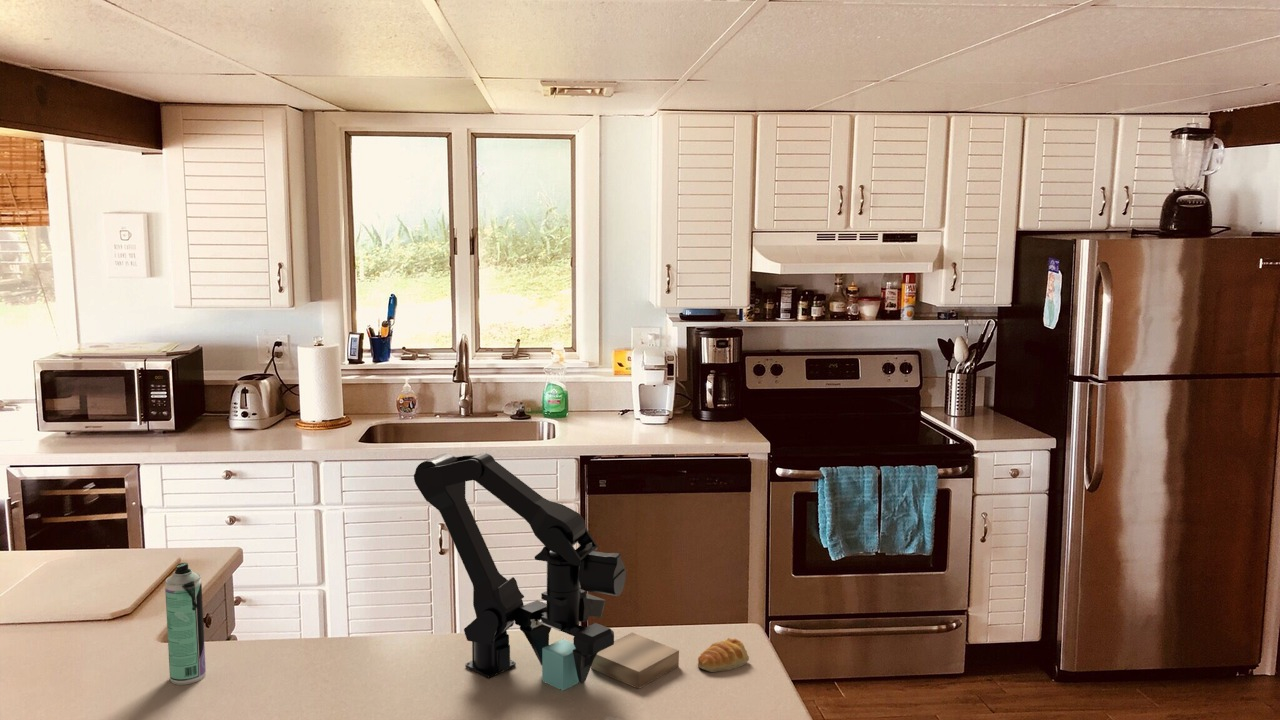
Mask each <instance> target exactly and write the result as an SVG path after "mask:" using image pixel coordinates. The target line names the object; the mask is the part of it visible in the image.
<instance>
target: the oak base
mask: <svg viewBox="0 0 1280 720" xmlns="http://www.w3.org/2000/svg"><path fill="white" fill-rule="evenodd" d="M679 658H680V649H676V648H674V647H671V646H669V645H666V644H663V643H661V642H658V641H655V640H653V639H650V638H648V637H645V636H642V635H640V634H637V633H635V632H630V633H627V634H626V635H624V636H622V637H620V638H618V639H616V640H614V645H612V646H610V647H608V648H606V649H603V650H601V651H599V652H598V653H597V654H596V656H595V658H594V660H593V663H592V665H591V668H590V669H592V670H594V671H597V672H598V673H601V674H604V675H606V676H608V677H611V678H612V679H615V680H617V681H619V682H622V683H625V684H627V685H628V686H629V685H630V686H632V687H634V688H636V689H639V690H640V688H642V687H645V686H646V685H648V684H649V683H651V682H653V681H656V680H657V679H658V678H660V677H662V676H664V675H666V674H668V673H669V672H671V671H673V670H675V669H677V668H678V667H679V665H680V663H679V662H680V659H679Z"/></svg>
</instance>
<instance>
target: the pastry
mask: <svg viewBox="0 0 1280 720" xmlns="http://www.w3.org/2000/svg"><path fill="white" fill-rule="evenodd" d="M749 659H750V656H749V654H748V652H747V649H746V647H745V645H744V643H743V642H742V641H741V640H739V639H737V638H730V637H728V638H727V639H725V640H721V641H718V642H713V643H712V644H711V645H710V646H709V647H707V648H706V649H705V650H704V651H702V653H700V655H699V656H698V659H697V667H698V668H700V669H702V670H705V671H707V672H711V673H715V672H724V671H726V672H727V671H730V670H733V669H736V668H740V667H742V666H744V665H747V663H748V661H749Z"/></svg>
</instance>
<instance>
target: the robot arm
mask: <svg viewBox="0 0 1280 720" xmlns="http://www.w3.org/2000/svg"><path fill="white" fill-rule="evenodd" d="M413 480H414V483H415V485H416V488H417V489H418V490H419V492H420V493H421V495H422V496H423V498H424V500H425V501H426V502H428V503H429V505H431V506H433V507H434V508H435V509H436V510H437V511H438V512H439V514H440V516H441V518H442V520H443V522H444V524H445V527H446V529H447V531H448V533H449V535H450V538H451V539H452V542H453V545H454V546H455V549H456V551H457V553H458V555H459V558H460V559H461V562H462V564H463V567H464V568H465V571H466V573H467V576H468V577H469V579H470V581H471V582H470V583H471V584H472V587H473V588H472V594H473V595H472V597H473V600H472V606H473V609H474V612H475V617H476V618H475V619H473V621H471V622H470V623H469V624H468V625H467V626H466V627H464V628H463V632H464V635H465V638H466V641H468V642H471V644H472V645H471V646H472V648H471V649H472V650H471V653H472V654H471V655H472V658H471V659H472V660H470V661H468V662H466V663H465V668H467V669H469V670H471V671H474V672H476V673H478V674H479V675H482V676H483V677H485V678H491V677H493V676H497V675H498V674H500V673H504V672H505V671H507V670H509V669H511V668H514V667H516V664H517V663H516V661H514V660H511V645H510V635H509V634H508V630H509V629H510V628H512V627H513V626H514V625H517V626H519V631H521V632H522V634H523V635H524V636H525V638H526V639H527V640H528V641H527V642H528V643H529V645H530V646H531V648H532V650H533V652H534V653H535V656H536V658H537V660H538V662H539V664H540V666H541V667H542V648H544V647H546V646H548V645H550V632H551V630H552V629H553V630H556V631H558V632H563V633H564V634H566V635H570V636H572V637H573V643H574V646H575V647H576V649H574V650H573V656H574V661H575V666H576V671H577V676H578V680H579V683H578V684H583V683H585V682H586V681H587V678H588V675H589V672H590V670H591V669H592V668H591V665H592V663H593V660H594V658H595V656H596V654H597V653H598V652H599V651H601V650H603V649H606V648H608V647H610V646H612V645H614V641H615V633H614V631H613V630H612V629H611V628H610V627H607V626H605V625H602V624H599V623H597V622H594V623H592V624H590V625H587V626H586V627H585V626H583V625H581V624H580V623H581V622H583V623H585V622H587V621H589V617H593V618H594V617H596V618H597V619H602V617H603V611H604V607H605V604H606V599H603V598H601V597H598V596H596V595H593V594H590V593H597V594H602V595H603V594H604V595H609V596H615V597H620V595H621V594H622V593H623V591H624V588H625V584H626V576H627V569H626V568H625V567H626V566H625V562H624V561H623V560H622V554H621V553H618V552H609V553H608V552H603V551H597V550H598V548H599V546H598V545H597V543H596V542H595V540H594V538H593V537H592V535H591V534H590V532H589V531H588V529H587V528H586V524H585V522H586V521H585V519H584V517H583V516H582V515H581V514H580V513H579V512H578V511H576V510H573V509H572V508H570V507H568V506H566V505H564V504H562V503H559V502H555V501H552V500H549V499H547V498H545V497H543V496H542V495H540V493H538V492H537V491H536V490H534V489H533V488H531V487H530V486H529V485H527V483H525V482H523V480H521V479H520V478H518V476H516V475H515V474H513V473H512V472H510V471H509V470H508V469H506V468H505V467H504V466H502V465H501V464H500V463H498V462H497V461H496V460H495V458H494V457H493V456H492V455H491V454H490V453H487V452H486V453H484V452H482V453H478V454H472V455H471V454H470V455H462V456H453V455H451V454H449V453H443V454H439V455H437V456H435V457H431V458H429V459H427V460H424V461H422V462H420V463H419V464H418V465H417V466H416V469H415V470H414V474H413ZM469 481H470V482H471V481H475V482H476V483H478V485H480V486H481V487H483V488H484V489H485V490H486V491H488V492H489V493H490V494H491V495H493V496H494V498H497V499H498V500H499V501H500V502H502V503H503V504H504V505H505V506H507V507H508V508H509V509H511V510H512V511H513V512H515V513H516V514H517V515H518V516H520V517H521V518H522V519H524V520H525V521H526V522H527V524H528V525H529V526H530V528H531V530H532V532H533V534H534V536H535V537H536V538H537V539H538V540H539V541H540V543H542V545H543V548H542V549H541V550H540V551H539V552H538V553H537V554H536V555H534V560H536V561H539V562H546V591H544V592H541V595H540V596H541V600H543V601H546V603H545V602H543V601H540V600H538V599H537V600H534V601H531V602H528V603H526V604H524V601H523V599H524V598H525V595H524V594H523V593H522V592H521V590H520V588H519V586H518V582H517V580H516V578H515V577H511V578H509V579H507V578H506V577H505V576H503V575H502V574H501V573H500V571H499V570H498V568H497V566H496V564H495V561H494V559H493V557H492V554H491V553H490V550H489V548H488V547H487V543H486V542H485V539H484V538H483V535H482V533H481V531H480V528H479V526H478V524H477V521H476V519H475V518H474V515H473V512H472V510H471V508H470V507H469V504H468V502H467V499H466V482H469ZM576 544H578V545H579V546H578V547H577V548H575V547H574V546H575V545H576ZM587 592H589V593H587Z"/></svg>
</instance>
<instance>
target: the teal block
mask: <svg viewBox="0 0 1280 720" xmlns="http://www.w3.org/2000/svg"><path fill="white" fill-rule="evenodd" d="M574 649H576V647H575V646H574V642H572V641H570V640H567V639H564V638H561V639H560V640H558V641H555V642H553V643H551V644H549V645H548V646H546V647H544V648H542V666H541V667H542V669H541V672H542V677H541V679H542V682H543V681H544V682H543V683H545V682H546V683H545V684H547V683H548V684H547V685H549V684H550V686H551V687H553V688H556V689H558V690H560V689H561V690H560V691H562V690H564V691H565V690H567V689H569V688H572V687H573V686H576V685H577V684H579V683H578V682H579V680H578V676H577V671H576V666H575V661H574V656H573V650H574Z"/></svg>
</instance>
